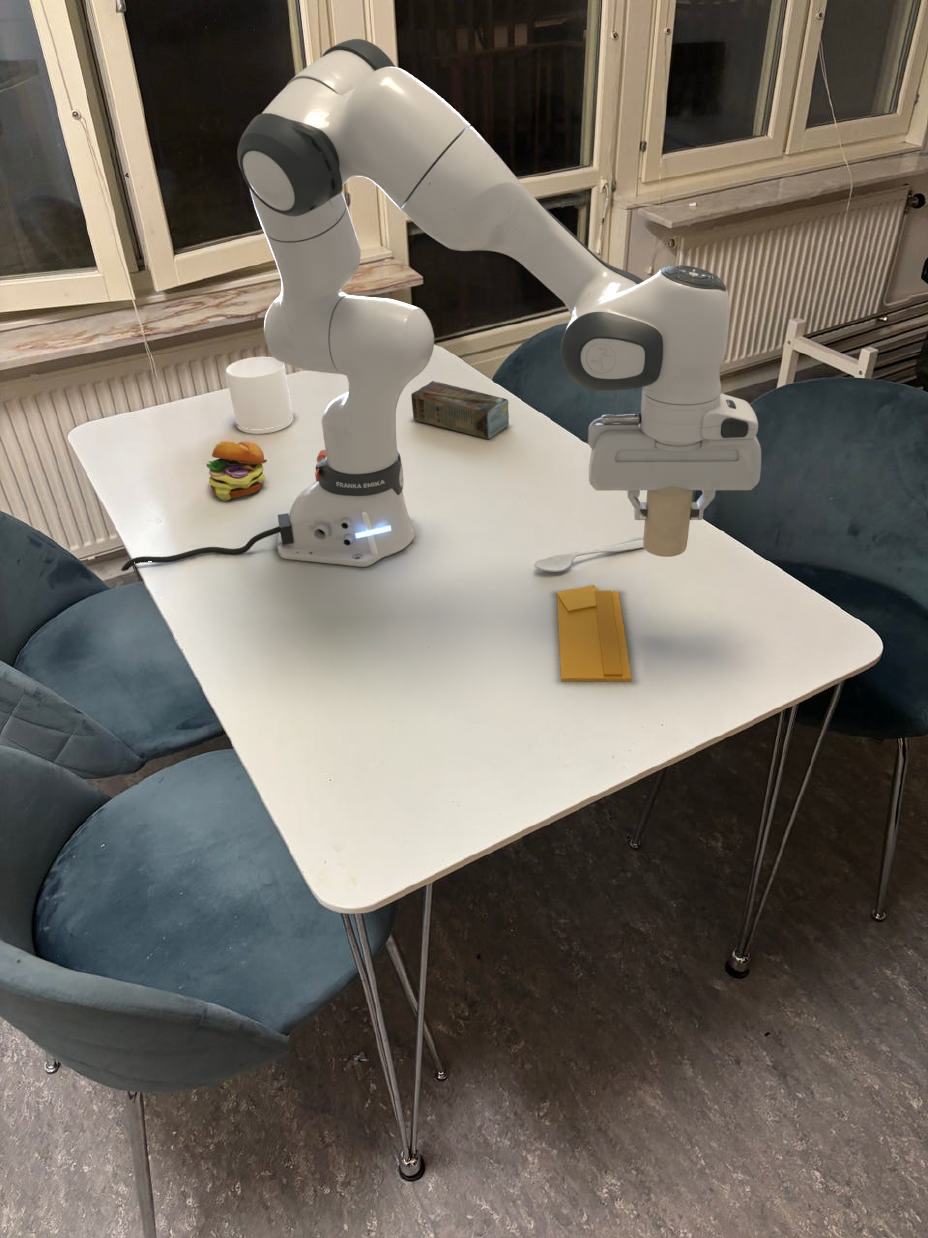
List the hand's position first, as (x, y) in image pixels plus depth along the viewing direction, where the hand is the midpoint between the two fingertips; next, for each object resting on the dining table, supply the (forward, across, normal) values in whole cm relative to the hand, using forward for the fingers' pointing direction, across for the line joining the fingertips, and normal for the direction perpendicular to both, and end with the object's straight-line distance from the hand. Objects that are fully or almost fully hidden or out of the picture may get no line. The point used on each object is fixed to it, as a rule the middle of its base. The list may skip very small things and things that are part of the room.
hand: (668, 518), depth 114 cm
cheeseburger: (+19, -71, +45) cm, 86 cm away
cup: (+19, -73, +74) cm, 106 cm away
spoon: (+19, -8, +21) cm, 29 cm away
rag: (+19, -9, +1) cm, 21 cm away
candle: (+4, 0, 0) cm, 4 cm away
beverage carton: (+19, -32, +72) cm, 81 cm away
